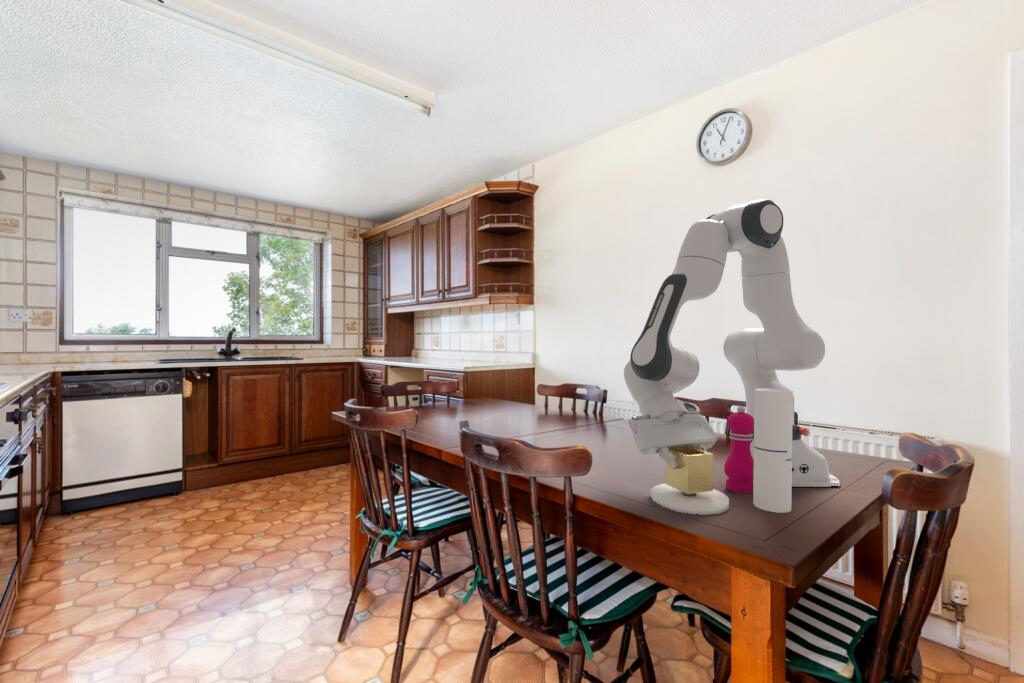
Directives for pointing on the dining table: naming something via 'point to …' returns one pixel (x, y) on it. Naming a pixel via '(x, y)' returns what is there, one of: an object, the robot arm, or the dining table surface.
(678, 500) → the plate
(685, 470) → the yellow square cup
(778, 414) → the cylindrical container
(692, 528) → the dining table surface
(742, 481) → the pepper mill
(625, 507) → the dining table surface
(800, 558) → the dining table surface
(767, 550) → the dining table surface
